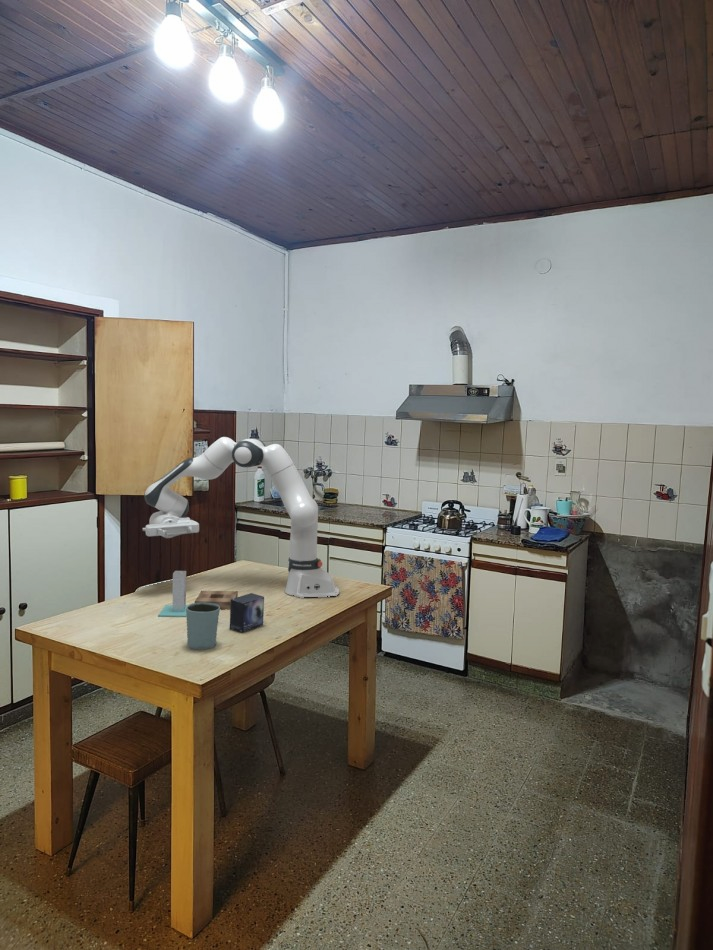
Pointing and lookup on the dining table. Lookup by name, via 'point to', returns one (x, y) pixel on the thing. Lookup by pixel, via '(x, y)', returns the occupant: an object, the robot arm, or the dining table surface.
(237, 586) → the dining table surface
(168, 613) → the mat
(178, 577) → the metal bar
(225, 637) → the dining table surface
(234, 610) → the small box
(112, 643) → the dining table surface
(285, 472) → the robot arm
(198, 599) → the socket block
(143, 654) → the dining table surface
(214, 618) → the grey-green cup
